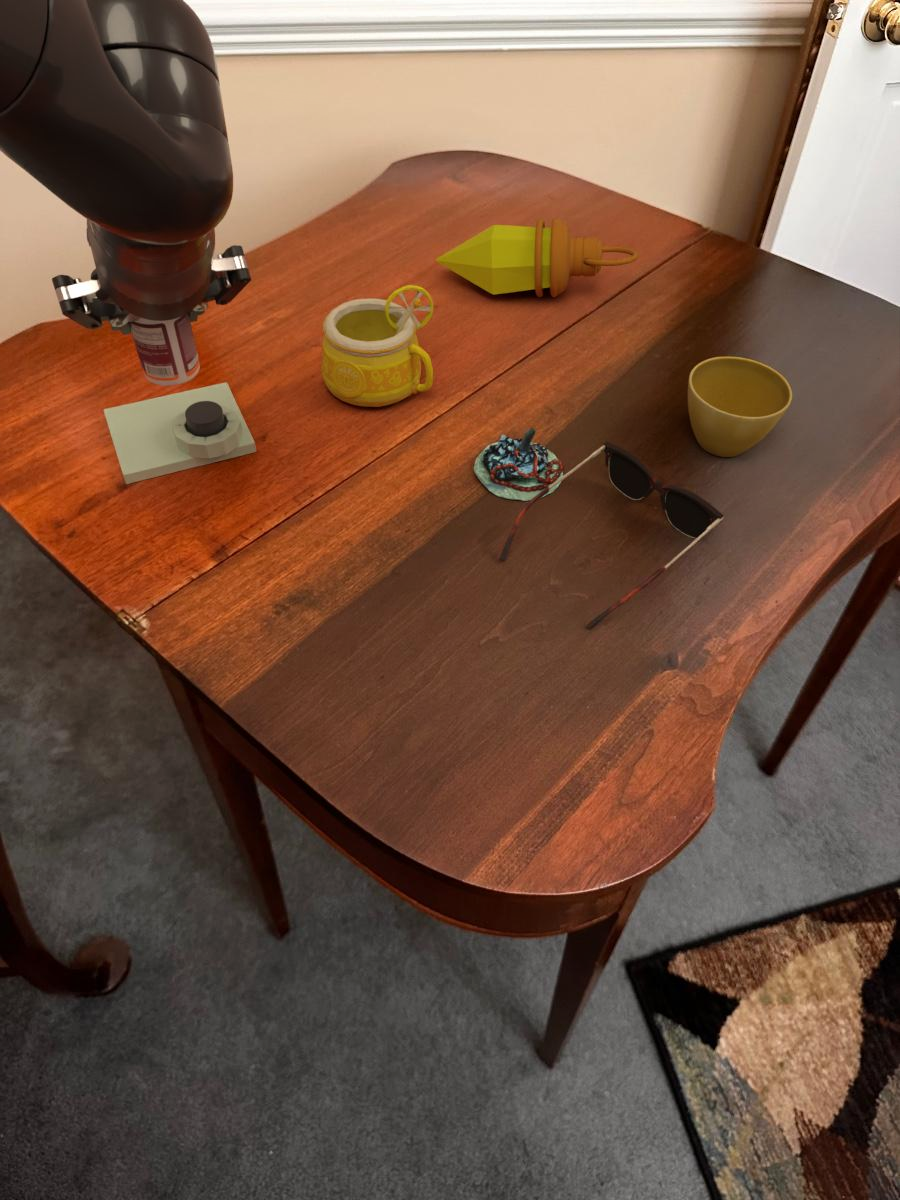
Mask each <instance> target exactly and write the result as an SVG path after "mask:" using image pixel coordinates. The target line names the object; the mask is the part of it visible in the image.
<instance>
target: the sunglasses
mask: <svg viewBox="0 0 900 1200" xmlns="http://www.w3.org/2000/svg"><path fill="white" fill-rule="evenodd" d="M602 444H603V445H601V446H600V447H599V448H598V449H596V450H595V451H594V452H592V453H591V454H590V455H589V456H588V457H587V458H584V459H583V461H581V462H580V463H579V464H577V465H575V467H573V468H572V469H570V470H569V471H568V472H567V473H565V474H563V476H562V477H561V478H560V479H558V480H557V481H556V482H554V483H553V484H551V485H550V486H548V487H547V488H546V489H544V490H543V491H542V492H540V493H539V494H538V495H536V496H535V497H534V498H533V499H531V500H528V501H527V502H526V504H525V505H524V506H523V507H522V509H521V510H520V511H519V514H518V515H517V517H516V519H515V521H514V523H513V525H512V528H511V529H510V532H509V534H508V537H507V539H506V542H505V544H504V546H503V549H502V551H501V553H500V556H499V560H501V561H504V562H506V560H507V558H508V554H509V550H510V548H511V544H512V542H513V539H514V537H515V535H516V532H517V530H518V528H519V525H520V523H521V521H522V519H523V518H524V515H525V514H526V513H527V512H528V510H529V509H530V508H531V507H532V506H533V505H534V504H535V503H537V501H539V500H540V499H542V498H544V497H545V496H544V495H545V494H547V493H548V492H549V490H550V489H551V488H553V487H554V486H555V485H557V484H558V483H559V482H561V483H562V481H563V480H565V479H566V478H568V476H570V475H571V474H573V473H574V472H576V471H577V470H578V469H579V468H581V467H582V466H583V465H585V464H586V463H587V462H588V461H590V460H591V459H594V458H595V457H597V456H599V454H601V453H603V452H604V454H605V457H604V466H605V467H606V468H608V477H609V480H610V482H611V484H612V485H613V486H614V487H615V488H616V489H617V491H619V492H620V493H621V494H622V495H624V496H625V497H627V498H628V499H631V500H633V501H640V500H642V499H643V498H648V497H649V496H650V495H651V494H652V493H653V492H654V491H655V490H656V491H657V492H658V493H659V497H660V505H661V509H662V510H663V511H665V514H666V517H667V520H668V521H669V523H670V524H671V526H672V527H673V528H675V529H676V530H677V531H678V532H680V533H682V534H683V535H685V536H687V537H689V538H692V539H694V540H693V541H692V542H691V543H690V544H688V545H687V546H686V547H685V548H684V549H683V550H681V551H680V552H679V553H678V554H677V555H675V556H674V557H673V558H672V559H671V560H670V561H669V562H668V563H666V565H664V566H662V567H659V569H657V570H656V571H655V572H653V574H652V575H650V576H649V577H648V578H647V579H645V580H644V581H643V582H641V584H639V585H637V586H636V587H635V588H633V589H632V590H630V591H629V592H627V594H626V595H624V596H623V597H621V598H620V599H618V600H617V601H616V602H615V603H613V604H612V605H610V607H608V608H607V609H606V610H604V611H603V612H602V613H600V614H599V615H597V616H596V617H595V618H594V619H592V620H591V621H590V622H588V623H587V627H588V628H589V629H590V630H592V629H594V628H595V627H596V626H597V625H599V624H600V623H601V622H602V621H603V620H604V619H605V618H606V617H607V616H608V615H610V614H611V613H613V612H614V611H615V610H617V609H618V608H619V607H621V606H622V605H624V603H626V602H627V601H628V600H630V599H631V598H633V597H634V596H635V595H636V594H637V593H639V592H641V591H642V590H643V589H645V588H646V587H647V586H649V585H650V584H652V582H654V581H655V580H656V579H658V577H660V576H661V575H662V574H663V573H664V572H665V571H666V570H667V569H668V568H669V567H670V566H671V565H672V564H674V563H675V562H676V561H677V560H678V559H679V558H681V557H682V556H683V555H684V554H685V553H687V551H689V550H690V549H691V548H692V547H693V546H694V545H695V544H697V542H699V541H700V540H701V539H702V538H703V537H704V536H706V535H707V534H709V533H711V532H712V531H713V529H714V528H715V527H717V525H719V524H720V523H722V522H723V519H724V518H725V515H724V514H723V513H721V512H720V511H719V510H718V509H717V508H716V507H715V506H713V504H711V503H709V502H708V501H707V500H705V499H704V498H702V497H701V496H699V495H697V493H694V492H692V491H690V490H688V489H686V488H683V487H681V486H678V485H675V484H666V483H665V484H664V483H663V482H662V481H660V480H659V478H657V475H656V474H655V473H654V472H653V470H651V468H650V467H649V466H647V464H646V463H644V462H643V461H642V460H641V459H640V458H638V457H637V456H636V455H634V454H633V453H631V452H630V451H628V450H626V449H624V448H622V447H620V446H619V445H616V444H614V443H612V442H609V441H605V442H604V443H602ZM543 496H544V497H543ZM541 497H542V498H541Z"/></svg>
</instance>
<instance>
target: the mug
mask: <svg viewBox="0 0 900 1200" xmlns="http://www.w3.org/2000/svg"><path fill="white" fill-rule="evenodd" d="M412 290H413V291H417V292H416V294H415V296H414V297H413V299H412V301H411V303H410V305H409V304H408V302H407V300H406V297H405V295H404V292H406V291H412ZM423 295H425V296H426V297H427V298H428V299H429V300H428V301H429V304H428V305H422V301H421V299H420V298H421V297H422V296H423ZM396 296H399V297H400V299H401V300H402V301H403V303H404V305H405V306H406V307H404V306H402V305H400V304H399V303H395V302H394V301H393V300H394V299H395V297H396ZM434 308H435V307H434V301H433V299H432V296H431V293H429V292H428V291H427V290H426V289H425V288H423V287H422V286H419V285H415V284H409V285H404V286H401V287H400V288H397V289H395V290H394V291H393V292H392V293H391V294H390V295H389V296H388V298H387V299H382V298H375V297H374V298H369V297H368V298H357V299H353V300H349V301H345V302H343V303H341V304H339V305H338V306H335V308H333V309H332V310H331V311H330V312H329V313H328V314H327V315H326V316H325V317H324V319H323V322H322V332H323V337H322V345H321V346H322V347H321V348H322V349H321V375H322V380H323V382H324V384H325V386H326V388H327V389H328V390H329V391H330V393H331V394H332V395H333V396H334V397H336V398H337V399H338V400H340V401H342V402H345V403H347V404H350V405H352V406H359V407H365V408H366V407H368V408H369V407H372V408H380V407H383V406H384V407H386V406H389V405H393V404H396V403H399V402H400V401H403V400H404V399H406V398H407V397H410V396H411V395H412V394H414V395H417V393H419V392H421V393H424V392H426V391H429V390H430V389H431V387H433V381H434V375H435V374H434V368H433V363H432V359H431V356H430V355H429V354H428V353H427V351H425V350H424V349H423V348H422V347H421V346H419V339H418V337H417V330H419V329H421V328H423V327H424V326H425V325H427V324H428V323H429V321H430V320H431V318H432V316H433V314H434V310H435V309H434ZM414 311H420V312H422V311H424V312H428V313H427V315H426V317H425V318H424V319H423V320H422V321H421V322H420V321H419V319H418V318H417V317H416V315H415V313H414ZM421 361H422V362H423V364H424V369H425V381H424V383H421V380H420V379H421V372H422V362H421Z"/></svg>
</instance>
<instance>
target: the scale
mask: <svg viewBox="0 0 900 1200" xmlns="http://www.w3.org/2000/svg"><path fill="white" fill-rule="evenodd" d="M200 401H212V402H215V403H217V404H219V405H220V406H221V408H222V410H223V415H224V420H225V428H224V429H223V431H221V432H220V433H218V434H217V435H212V436H208V437H198V436H194V435H193V434H191V433H190V431H189V429H188V425H187V421H186V417H185V411H186V409H187V408H188V407H189V406H190V405H192V404H194V403H197V402H200ZM102 411H103V414H104V417H105V420H106V424H107V427H108V430H109V434H110V436H111V440H112V443H113V447H114V450H115V454H116V456H117V460H118V463H119V466H120V470H121V473H122V476H123V480H124V482H125V484H126V485H129V484H133V483H138V482H141V481H145V480H149V479H153V478H158V477H161V476H165V475H169V474H173V473H177V472H181V471H185V470H189V469H193V468H199V467H201V466H205V465H210V464H213V463H217V462H221V461H226V460H230V459H234V458H238V457H242V456H245V455H246V456H247V455H251V454H254V453H257V448H256V447H257V446H256V442H255V440H254V437H253V436H252V433H251V431H250V429H249V427H248V425H247V422H246V420H245V418H244V416H243V414H242V412H241V409H240V407H239V405H238V403H237V401H236V399H235V397H234V394H233V392H232V391H231V387H230V386H229V383H228V382H227V381H225V382H220V383H216V384H211V385H207V386H203V387H198V388H194V389H189V390H185V391H180V392H175V393H171V394H166V395H162V396H158V397H153V398H148V399H144V400H140V401H135V402H131V403H126V404H122V405H117V406H112V407H107V408H104V409H103V410H102Z"/></svg>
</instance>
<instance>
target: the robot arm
mask: <svg viewBox="0 0 900 1200" xmlns="http://www.w3.org/2000/svg"><path fill="white" fill-rule="evenodd" d="M219 77H220V76H219V71H218V65H217V59H216V54H215V50H214V47H213V42H212V39H211V38H210V35H209V33H208V31H207V28H206V27H205V25H204V24H203V21H202V20H201V19H200V17H199V16H198V15H197V14H196V12H195V11H194V10H193V8H191V6H190V5H189V4H188V3H187V2H186V1H184V0H0V152H1V153H3V155H4V156H6V157H7V158H8V159H9V160H11V161H12V162H14V163H15V164H16V165H17V166H18V167H20V168H21V169H23V170H24V172H26V173H27V174H28V175H30V176H31V177H32V178H33V179H35V180H36V181H37V182H38V183H40V184H41V185H42V186H43V187H45V188H46V189H47V190H48V191H49V192H50V193H52V194H53V195H54V196H56V197H57V198H58V199H59V200H60V201H62V202H63V203H64V204H66V205H67V206H68V207H69V208H71V209H72V210H73V211H75V212H76V213H78V214H79V215H81V217H83V218H85V220H86V240H87V243H88V246H89V247H90V250H91V254H92V258H93V262H94V265H95V268H94V269H93V270H92V272H91V273H90V279H89V280H84V281H82V278H80V277H75V278H73V277H72V276H70V275H68V274H58V275H56V276H53V277H52V278H51V282H52V285H53V288H54V291H55V295H56V297H57V301H58V304H59V308H60V310H61V314H62V316H64V317H66V318H68V319H70V320H71V321H73V322H75V323H77V324H78V325H80V326H82V327H83V328H85V329H87V330H98V329H100V328H101V327H102V326H103V322H109V325H110V328H111V331H114V332H119V331H121V335H122V336H127V335H132V332H131V329H130V323H129V322H131V321H138V320H139V319H140V318H143V319H147V320H154V321H166V320H172V319H176V318H179V317H181V316H184V315H185V314H187V313H189V318H190V322H191V323H194V322H198V317H199V316H202V315H203V314H205V311H206V310H208V309H209V304H208V303H210V302H213V301H214V302H215V304H216V305H220V306H225V305H228V304H229V303H231V302H232V301H233V300H234V299H235V298H236V297H237V296H238V295H239V294H240V293H241V292H242V291H243V289H245V287H247V286H248V284H250V282H251V281H252V277H251V273H250V270H249V269H250V268H249V266H248V263H247V259H246V256H245V253H244V249H243V246H242V245H236V244H234V245H231V246H230V247H227V248H226V249H225V250H224V252H223V253H221V252H220V253H218V254H216V258H214V256H215V249H216V230H215V228H217V226H218V225H219V224H220V223H221V222H222V220H223V219H224V218H225V217H226V214H227V213H228V210H229V208H230V207H231V203H232V200H233V193H234V170H233V169H234V168H233V163H232V156H231V150H230V145H229V136H228V131H227V123H226V117H225V112H224V111H225V110H224V105H223V98H222V90H221V87H220V86H221V85H220V78H219Z"/></svg>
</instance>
